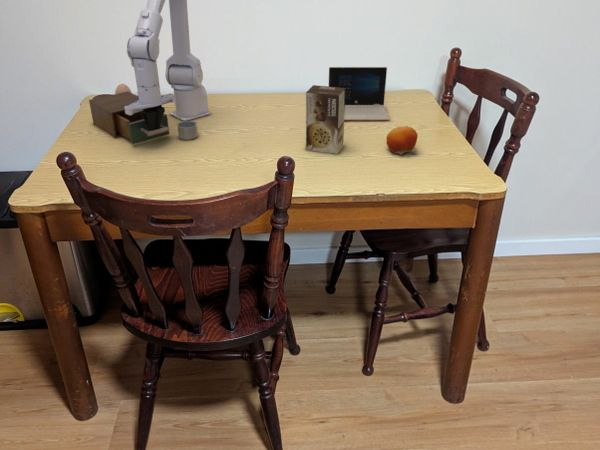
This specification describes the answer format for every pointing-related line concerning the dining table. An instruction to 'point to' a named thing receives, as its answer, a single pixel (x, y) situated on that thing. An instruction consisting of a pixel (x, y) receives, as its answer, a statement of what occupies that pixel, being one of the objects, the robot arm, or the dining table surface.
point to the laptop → (361, 91)
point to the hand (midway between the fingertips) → (154, 133)
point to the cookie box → (325, 118)
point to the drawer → (138, 127)
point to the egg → (122, 89)
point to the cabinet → (110, 110)
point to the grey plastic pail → (187, 130)
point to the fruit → (402, 139)
